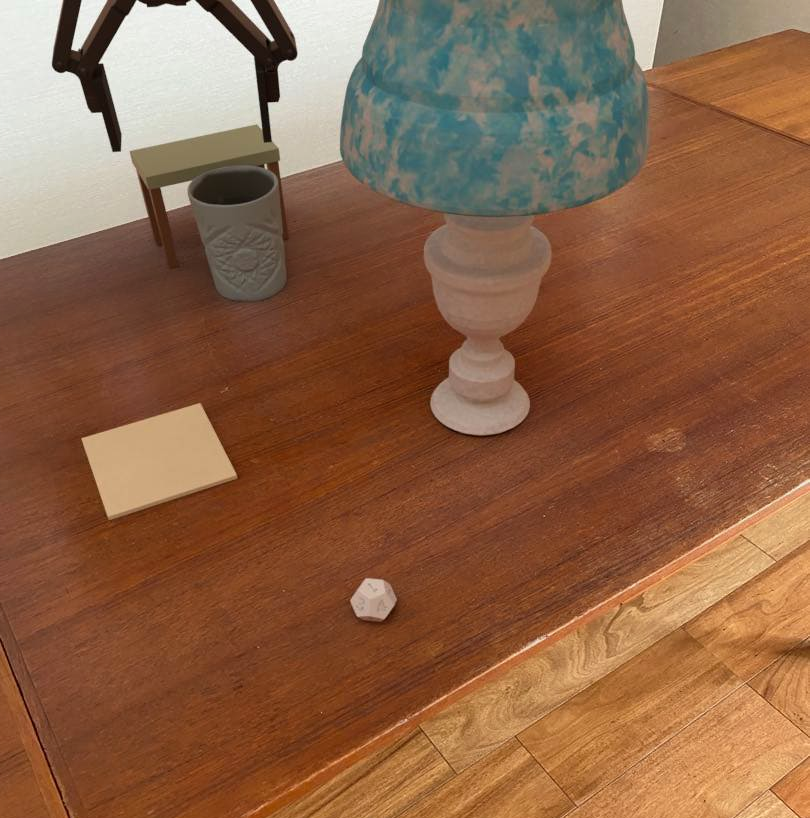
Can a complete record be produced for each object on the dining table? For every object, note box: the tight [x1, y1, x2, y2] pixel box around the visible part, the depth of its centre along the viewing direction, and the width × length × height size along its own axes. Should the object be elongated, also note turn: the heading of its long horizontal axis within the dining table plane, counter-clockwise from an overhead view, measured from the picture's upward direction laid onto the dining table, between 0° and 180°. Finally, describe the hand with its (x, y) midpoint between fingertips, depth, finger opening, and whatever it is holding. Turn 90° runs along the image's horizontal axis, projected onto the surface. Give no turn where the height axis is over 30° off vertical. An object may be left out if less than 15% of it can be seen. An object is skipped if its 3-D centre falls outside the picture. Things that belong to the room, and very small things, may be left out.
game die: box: [349, 577, 398, 623], centre depth 68 cm, size 4×4×3 cm
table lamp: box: [339, 0, 651, 437], centre depth 72 cm, size 24×24×40 cm
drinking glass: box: [187, 166, 288, 303], centre depth 99 cm, size 10×10×12 cm
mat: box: [80, 402, 238, 521], centre depth 82 cm, size 12×12×1 cm
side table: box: [129, 124, 289, 269], centre depth 107 cm, size 8×16×12 cm, turn 115°
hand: (192, 138), depth 80 cm, fingers open, 13 cm apart
